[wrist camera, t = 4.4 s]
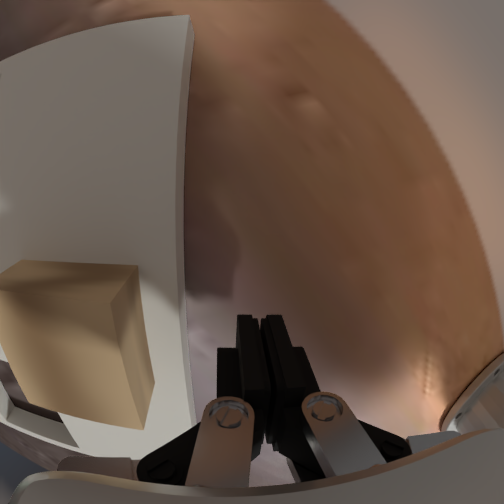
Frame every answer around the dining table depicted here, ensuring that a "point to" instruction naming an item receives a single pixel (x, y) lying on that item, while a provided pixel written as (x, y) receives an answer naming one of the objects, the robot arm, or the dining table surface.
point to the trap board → (104, 196)
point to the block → (78, 339)
